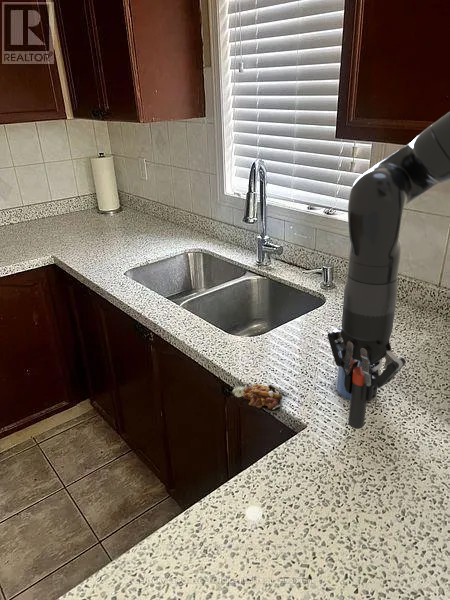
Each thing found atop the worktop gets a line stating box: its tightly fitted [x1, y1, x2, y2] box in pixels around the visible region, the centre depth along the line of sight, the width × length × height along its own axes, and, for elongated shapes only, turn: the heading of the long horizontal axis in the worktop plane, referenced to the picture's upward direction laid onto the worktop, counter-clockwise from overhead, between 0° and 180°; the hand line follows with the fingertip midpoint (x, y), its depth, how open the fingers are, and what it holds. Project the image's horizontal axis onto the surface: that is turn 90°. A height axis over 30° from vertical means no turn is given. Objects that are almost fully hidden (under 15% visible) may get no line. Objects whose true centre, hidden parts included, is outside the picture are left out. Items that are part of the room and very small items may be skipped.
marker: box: [348, 367, 367, 430], centre depth 75 cm, size 3×3×11 cm
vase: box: [335, 351, 362, 401], centre depth 100 cm, size 8×8×11 cm
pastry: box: [231, 382, 287, 411], centre depth 100 cm, size 7×12×4 cm, turn 67°
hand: (359, 395), depth 75 cm, fingers closed on marker, 2 cm apart
